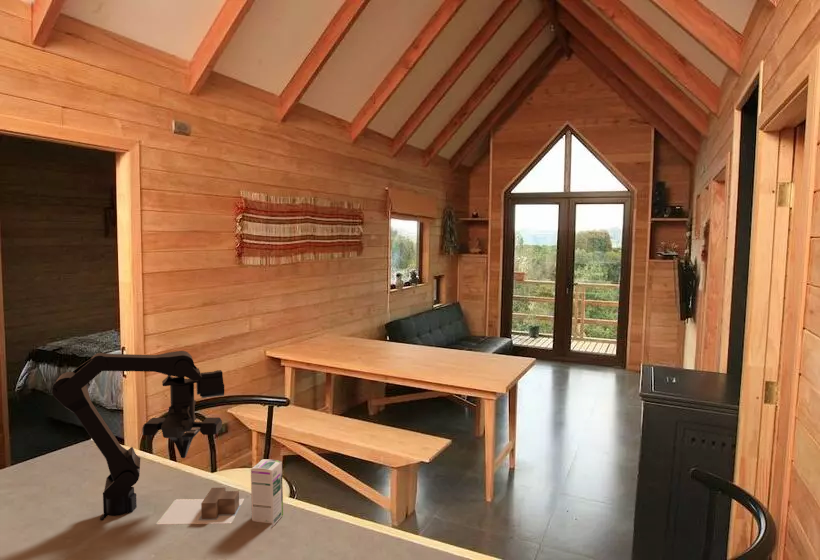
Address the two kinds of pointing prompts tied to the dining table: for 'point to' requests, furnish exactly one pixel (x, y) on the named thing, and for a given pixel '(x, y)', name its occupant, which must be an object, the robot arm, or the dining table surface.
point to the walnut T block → (219, 503)
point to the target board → (192, 513)
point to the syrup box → (267, 491)
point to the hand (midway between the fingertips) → (183, 457)
